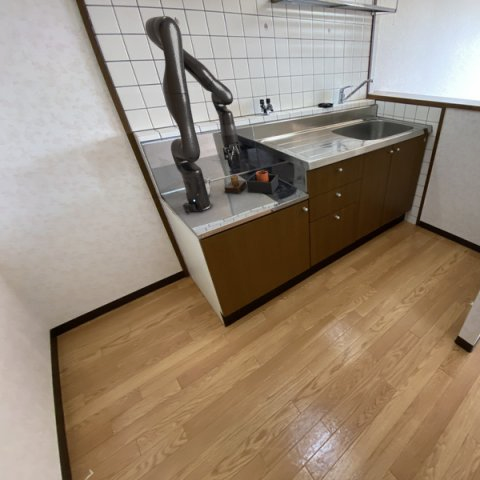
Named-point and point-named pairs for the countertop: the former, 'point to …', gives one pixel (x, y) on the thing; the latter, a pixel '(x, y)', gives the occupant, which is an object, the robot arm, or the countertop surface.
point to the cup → (262, 176)
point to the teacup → (208, 185)
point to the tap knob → (234, 180)
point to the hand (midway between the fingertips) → (234, 164)
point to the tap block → (235, 187)
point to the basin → (262, 184)
